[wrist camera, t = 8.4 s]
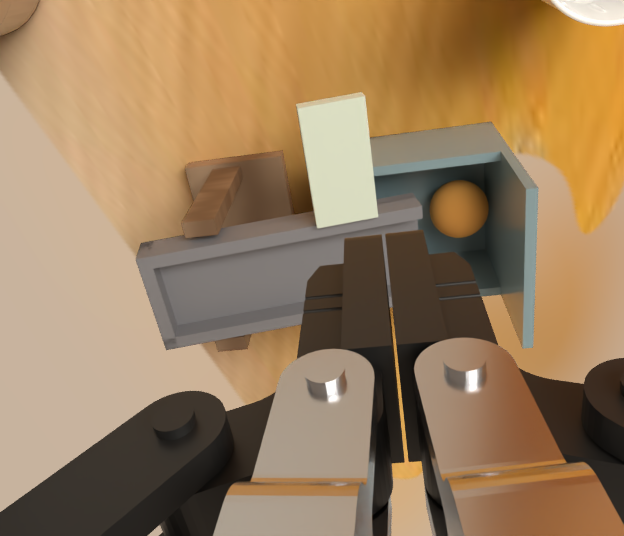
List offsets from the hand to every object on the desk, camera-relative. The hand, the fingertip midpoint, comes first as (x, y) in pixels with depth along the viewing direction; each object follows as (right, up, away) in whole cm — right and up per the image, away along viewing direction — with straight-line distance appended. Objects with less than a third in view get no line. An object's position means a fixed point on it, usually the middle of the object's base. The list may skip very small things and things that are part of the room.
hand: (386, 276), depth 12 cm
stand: (-7, +4, +34) cm, 35 cm away
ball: (+9, +4, +30) cm, 31 cm away
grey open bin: (+7, +5, +32) cm, 33 cm away
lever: (-4, +3, +25) cm, 25 cm away
